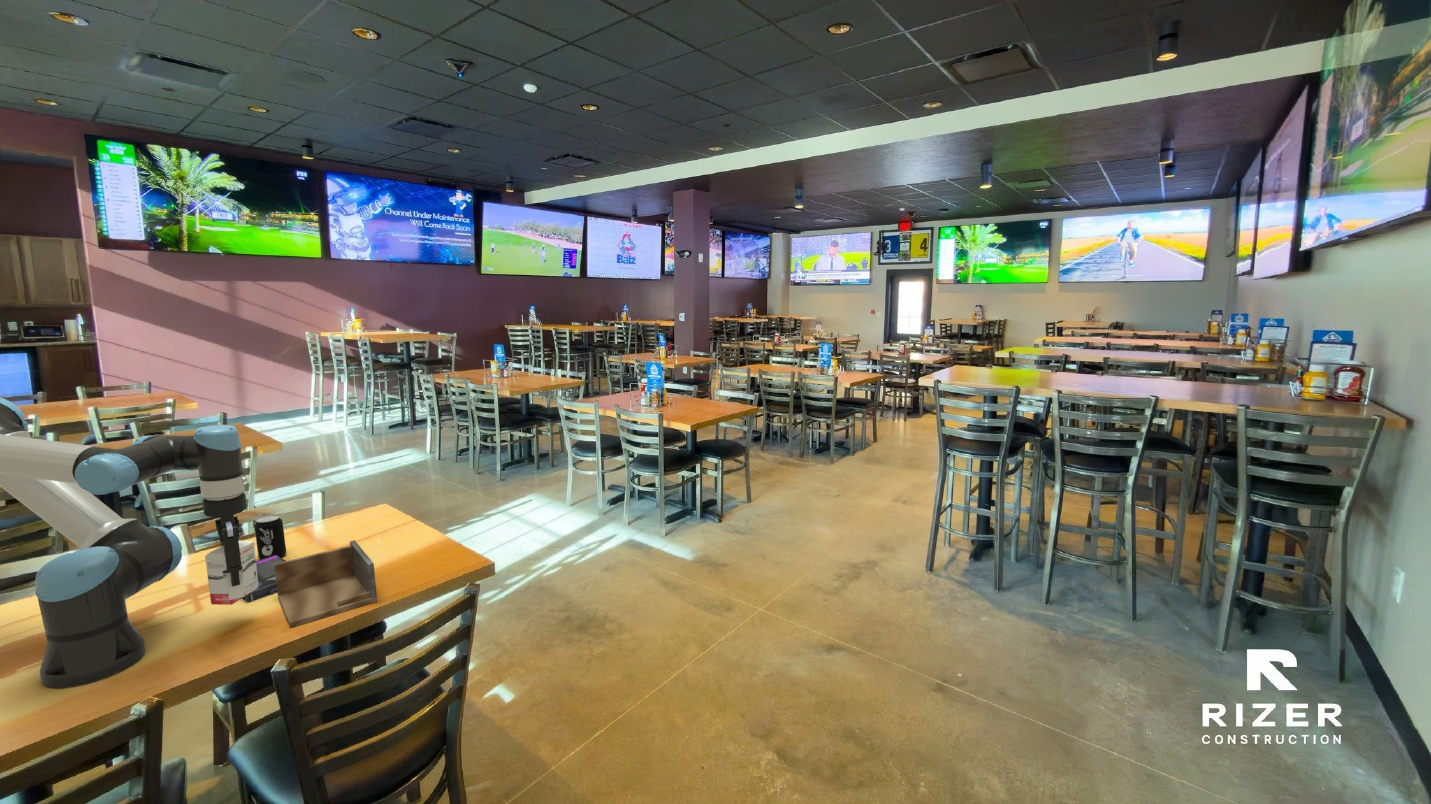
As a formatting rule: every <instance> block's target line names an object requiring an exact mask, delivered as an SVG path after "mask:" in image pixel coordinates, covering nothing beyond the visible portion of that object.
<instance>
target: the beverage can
mask: <svg viewBox="0 0 1431 804" xmlns="http://www.w3.org/2000/svg"><path fill="white" fill-rule="evenodd" d="M253 526H254V534H255V543H256V549H257V557H258V560H261V559H263V558H266V557H270V556H272V555H276V556H278V557H280V558H282V559H283V557H285V555H286V554H287V546H286V538H285V537H286V536H285V532H284V530H285V529H284V523H283V519H282V518H281V516H280V514H268V515H263V516H260V517H257V518H256V519H255V522H254V525H253Z"/></svg>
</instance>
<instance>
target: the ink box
mask: <svg viewBox="0 0 1431 804" xmlns="http://www.w3.org/2000/svg"><path fill="white" fill-rule="evenodd" d="M238 541H239V549H240V557H241V565H242V567H243V568H242V576H243V585H244V594H245V596H246V595H247V594H249V593H250V592H252V591H254V590H255V589H257V588H258V577H257V567H256V561H257V560H256V549H255V541H254V540H253V541H249V540H238ZM204 557H205V564H206V573H207V582H208V588H209V589H208V590H209V598H210V604H211V605H218V606H219V605H222V606H223V605H231V606H232V605H234V604H236V603H237V602H238V601H240V600H241V599H242V598H243V597H240V598H236V599H232V600H229V594H228V585H227V576H226V574H223V571H225V570H226V569H227V567H226V560H225V553H224V546H221V545H220V546H219V547H218V548H216V549H214V550H212V551H210V552H207V554H206V555H205V556H204ZM236 566H237V565H236Z"/></svg>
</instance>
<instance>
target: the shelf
mask: <svg viewBox="0 0 1431 804" xmlns="http://www.w3.org/2000/svg"><path fill="white" fill-rule="evenodd" d="M274 569H275V577H276V585H277V593H276V594H277V599H278V601H279V603H280V606H281V608H282V610H283V612H284V615H285V618H286V620H287V622H288V625H289V627H290V628H295V627H299V626H301V625H304V624H307V623H312V622H314V621H318V620H321V619H325V618H327V617H331V616H334V615H339V614H340V613H344V612H347V611H348V612H349V611H350V610H351V611H352V610H354V609H357V608H360V607H366V606H368V605H371V604H375V603H377V602H378V593H377V584H376V582H377V581H376V574H375V573H376V572H375V565H374V562H373V560H371V558H370V557H369V555H367V553H366V552H365V551H364V549H363V548H362V547H361V546H360V544H359V543H358V541H356V540H349V545H347V546H343V547H339V548H335V549H331V550H326V551H322V552H321V551H320V552H318V553H314V554H309V555H305V556H300V557H297V558H292V559H288V560H286V561H283V562H279V563H275V564H274Z"/></svg>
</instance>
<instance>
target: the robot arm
mask: <svg viewBox="0 0 1431 804" xmlns="http://www.w3.org/2000/svg"><path fill="white" fill-rule="evenodd" d="M25 419H26V416H25V413H24V412H23V411H22V410H21V408H19V407H18V406H17V405H16V404H15V403H13V402H11V401H9V400H7V398H6V399H5V398H2V397H0V488H1V489H3V490H4V491H5V492H6V493H8V494H9V495H10V496H12V497H13V498H14V499H16V500H17V501H18V502H20V504H22V505H23V506H25V507H26V508H27V509H29V510H30V511H31V512H33V514H35V515H36V516H37V517H39V518H40V519H42V520H43V521H44V522H45V523H46V524H48V525H49V526H50V527H52V528H53V529H55V530H56V531H57V532H58V533H60V534H61V535H63V536H64V537H65V538H66V539H67V540H68V541H70V542H72V543H73V544H74V545H75V546H76V547H77V548H79V549H77V550H75V551H74V552H68V553H65V554H61V555H59V556H58V557H56V558H54V559H52V560H51V559H50V561H47V563H45V564H43V566H41V567H40V569H38V571H37V572H36V574H35V595H36V598H37V601H38V605H39V610H40V611H39V612H40V615H41V618H42V624H43V628H44V634H45V638H46V646H45V649H44V654H43V658H42V661H41V665H40V669H39V675H40V680H41V684H42V685H43V686H45V687H46V688H47V687H48V688H54V689H59V688H61V689H62V688H63V689H64V688H70V687H71V688H72V687H76V686H82V685H86V684H89V683H90V684H91V683H93V682H96V681H100V680H102V679H106V678H108V677H110V676H113V675H115V674H117V673H119V672H120V673H121V672H122V671H124V670H125V669H128V668H130V667H131V666H133V665H134V664H136V663H137V662H139V660H141V659H142V658H143V657H144V655H145V653H146V651H147V648H146V643H145V640H144V638H143V637H142V636H141V634H140V633H139V631H138V630H137V628H135V626H134V625H133V623H132V622H131V620H130V619H129V616H128V615H129V614H128V609H127V604H126V600H127V599H129V598H131V597H133V596H134V595H136V594H138V593H140V592H141V591H143V590H145V589H146V588H147V587H150V586H151V585H153V584H155V583H158V582H160V581H162V580H163V579H164V578H165V577H166V576H168V575H169V574H170V573H172V572H173V571H174V570H175V569H177V568H178V565H180V563H181V561H182V558H183V557H182V556H183V553H182V551H183V546H182V542H181V541H180V538H179V537H178V536H177V534H176V533H174V532H173V531H172V530H171V529H169V528H167V527H163V526H156V525H153V526H151V525H150V526H148V527H147V526H146V525H145V524H144V523H142V522H141V521H139V520H138V519H137V518H123V517H121V516H120V515H119V514H118V513H116V512H115V511H114V510H113V509H111V508H110V507H109V506H108V505H106V504H105V503H103V502H102V500H100V499H99V498H98V497H96V496H95V495H101V496H102V495H107V494H111V493H115V492H120V491H123V490H126V489H127V488H129V487H132V486H135V485H137V484H139V483H142V482H144V481H147V480H150V479H153V478H155V477H158V476H161V475H164V474H166V473H169V472H171V471H196V470H197V471H198V477H199V487H200V494H201V495H200V496H201V497H202V498H203V499H202V509H203V515H204V516H206V517H209V518H216V517H217V519H215V520H214V523H215V528H216V531H217V535H218V536H219V537H218V538H219V542H220V547H221V546H224V553H225V560H226V567H227V569H226V570H225V571H223V574H226V576H227V585H228V594H229V600H232V599H236V598H240V597H245V594H244V585H243V576H242V568H243V567H242V565H241V557H240V549H239V541H240V540H239V539H240V530H239V528H240V520H239V519H238V516H235V515H236V514H240V513H243V512H244V511H245V510H246V509H247V508H248V505H247V497H246V496H247V495H246V493H245V489H246V488H245V482H247V481H248V477H247V476H246V477H244V469H243V461H242V443H241V440H240V434H239V430H238V428H237V427H236V426H234V425H232V424H231V425H230V424H218V425H217V424H216V425H215V424H211V425H206V426H202V427H198V428H196V429H195V430H194V432H193V433H194V435H176V434H175V435H173V434H172V435H171V434H168V435H165V434H154V435H142V436H139V437H137V438H136V439H135V441H133V442H132V443H131V444H130V445H129V446H125V447H121V448H111V447H102V446H101V447H100V446H95V445H87V444H79V443H74V442H73V443H72V442H71V443H70V442H64V441H56V440H49V439H40V438H33V437H31V433H30V432H29V431H28V421H25ZM236 565H237V566H236Z"/></svg>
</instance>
